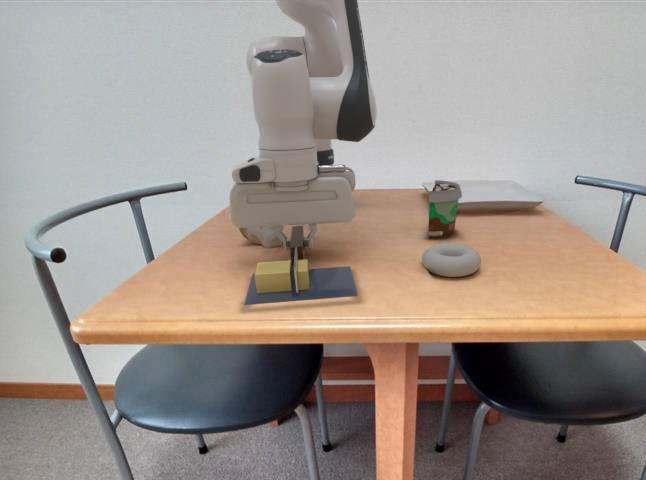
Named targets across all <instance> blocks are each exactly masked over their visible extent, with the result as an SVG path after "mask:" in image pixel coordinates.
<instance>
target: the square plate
mask: <svg viewBox="0 0 646 480" xmlns="http://www.w3.org/2000/svg"><path fill="white" fill-rule="evenodd" d="M448 181H449V182H454V183H457V184H459V185H460V188H461V193H462V197H461V198H460V199H458V206H457V213H459V214H460V213H462V214H463V213H465V214H466V213H488V212H489V213H490V212H491V213H493V212H495V213H497V212H516V211H520V210H528V209H529V210H530V209H533V208H536V207H538V206H541V204H543V203H545V202H546V200H545V199H544V198H543V197H541V196H540V195H538V194H537V193H535V192H534V191H532V190H531V189H529V188H527V187H526V186H524V185H522V184H520V183H518V182H517V181H514V180H511V179H508V180H507V179H506V180H499V179H496V180H493V179H481V180H480V179H476V180H475V179H471V180H470V179H469V180H467V179H465V180H448ZM421 185H422V187H423V188H424V190H425V191H426V193H427V194H428V195H429V191H432V190H433V188H434V187H435V181H425V182H421Z"/></svg>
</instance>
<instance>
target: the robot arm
mask: <svg viewBox="0 0 646 480" xmlns="http://www.w3.org/2000/svg"><path fill="white" fill-rule="evenodd" d="M275 1H276V4H277V6H278V8H279V10H280V11H281V12H282V13H283V14H284V15H285V16H286V17H288V18H289V19H290V20H293V21H294V22H295V23H297V24H299V25H301V26H302V27H303V29H304V35H303V36H282V35H281V36H280V35H279V36H278V35H277V36H276V35H275V36H274V35H273V36H267V37H262V38H257V39H254V40H253V41H252V42H251V43H250V45H249V46H248V49H247V52H246V68H247V71H248V74H249V76H250V77H251V95H252V105H253V106H252V107H253V113H254V119H255V121H256V124H257V127H258V132H259V139H258V151H259V152H258V153H259V154H258V156H255V157H251V158H249V159H247V160H244V161H241V162H239V163H238V164H236V165H235V166H234V167H233V168H232V169H231V177H232V180H233V182H234V184H233V185H232V187H231V189H230V191H229V215H230V222H231V223H232V225H233V226H234V227H236V228H237V229H239V228H247V227H265V226H274V229H275V233H276V234H277V236H278V237H279V238H280V239H281V241H283V245H282V248H283V251H286V252H287V251H290V241H291V237H287V236H286V234H285V233H284V229H285V226H303V225H308V231H309V233H308V235H307V236H304V237H303V244H304V249H305V250H313V239H314V237H315V235H316V233H317V231H318V225H319V224H338V223H351V222H353V220H354V219H355V217H356V208H355V201H354V196H353V195H354V194H353V191H354V190H355V189H356V173H355V172H354V171H353V170H354V169H352V168H350V167H349V166H346V164H337V165H336V164H335V153H334V149H333V148H332V140H338V141H343V142H353V143H359V142H361V141H362V140H364V139H365V138H366V137H367V136H368V135H370V133H371V132H372V131H373V130H374V129H375V126H376V121H377V115H378V114H377V112H378V111H377V101H376V98H375V94H374V90H373V87H372V84H371V79H370V74H369V67H368V60H367V54H366V53H367V52H366V47H365V41H364V33H363V27H362V22H361V15H360V9H359V4H358V0H275ZM334 164H335V165H334Z"/></svg>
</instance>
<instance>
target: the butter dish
mask: <svg viewBox="0 0 646 480" xmlns="http://www.w3.org/2000/svg"><path fill="white" fill-rule="evenodd" d="M308 271H309V290H299V292H298V293H296V285H295V276H294V270H292V264H291V259H289V260H276V261H275V260H274V261H261V262H257V264H256V268H255V271H254V272H252V275H251V278H250V282H249V286H248V289H247V293H246V296H245V300H244V303H243V306H250V305H251V306H252V305H264V304H277V303H278V304H279V303H289V302H290V303H291V302H303V301H315V300H325V299H326V300H327V299H328V300H329V299H339V298H340V299H341V298H352V297H359V295H358V290H357V286H356V283H355V278H354V276H353V271H352V267H351V266H350V265H349V266H335V267H333V266H332V267H320V268H308Z"/></svg>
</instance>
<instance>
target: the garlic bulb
mask: <svg viewBox="0 0 646 480" xmlns="http://www.w3.org/2000/svg"><path fill="white" fill-rule="evenodd" d="M238 230H239V232H240V234H241V236H243V237H244V239H246V241H248V242H250V243H253V244H257V245H261V246H262V247H264V248H265V249H273V248H276V247H280V246H281V245H282V246H283V241H281V239H280V238H279V237H278V236H277V234H276V233H275V229H274V226H265V227H247V228H238Z"/></svg>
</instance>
